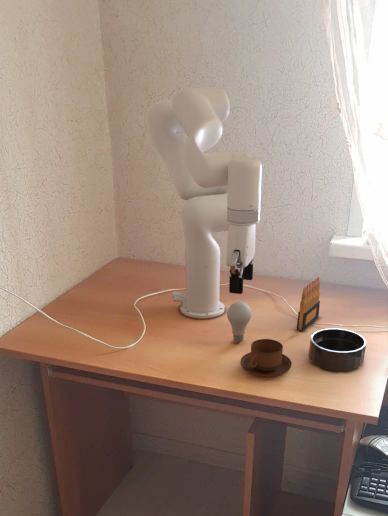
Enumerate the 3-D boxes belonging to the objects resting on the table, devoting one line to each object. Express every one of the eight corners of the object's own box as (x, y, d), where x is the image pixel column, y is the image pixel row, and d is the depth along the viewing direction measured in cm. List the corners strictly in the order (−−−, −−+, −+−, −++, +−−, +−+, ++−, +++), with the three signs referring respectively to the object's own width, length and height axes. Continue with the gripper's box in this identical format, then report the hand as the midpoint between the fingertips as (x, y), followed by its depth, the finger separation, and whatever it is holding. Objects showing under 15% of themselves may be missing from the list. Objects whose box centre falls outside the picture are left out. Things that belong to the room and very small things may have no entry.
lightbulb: (243, 350, 157) (244, 309, 151) (221, 344, 160) (222, 304, 154) (254, 341, 161) (256, 301, 156) (233, 335, 164) (234, 296, 158)
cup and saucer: (283, 385, 142) (285, 361, 139) (233, 375, 146) (233, 352, 143) (296, 362, 151) (298, 339, 148) (249, 353, 155) (250, 331, 152)
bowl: (304, 368, 149) (306, 347, 146) (313, 345, 159) (315, 325, 156) (360, 376, 145) (363, 355, 142) (365, 352, 156) (368, 332, 153)
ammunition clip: (302, 331, 166) (306, 289, 160) (296, 330, 167) (300, 287, 161) (318, 317, 174) (323, 276, 168) (312, 316, 175) (316, 275, 168)
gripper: (237, 205, 152) (235, 273, 160) (217, 223, 138) (216, 297, 146) (267, 207, 150) (264, 276, 158) (250, 226, 136) (247, 300, 144)
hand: (241, 286), depth 152 cm, fingers open, 9 cm apart
